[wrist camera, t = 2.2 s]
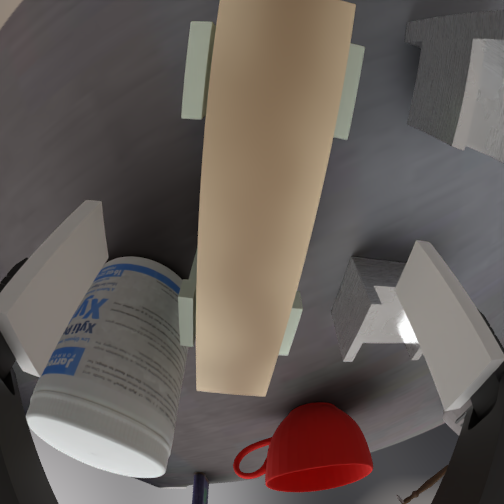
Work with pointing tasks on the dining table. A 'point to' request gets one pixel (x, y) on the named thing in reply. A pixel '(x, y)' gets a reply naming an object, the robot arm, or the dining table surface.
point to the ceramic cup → (312, 451)
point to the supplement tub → (116, 373)
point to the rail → (262, 177)
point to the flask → (200, 488)
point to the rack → (196, 109)
